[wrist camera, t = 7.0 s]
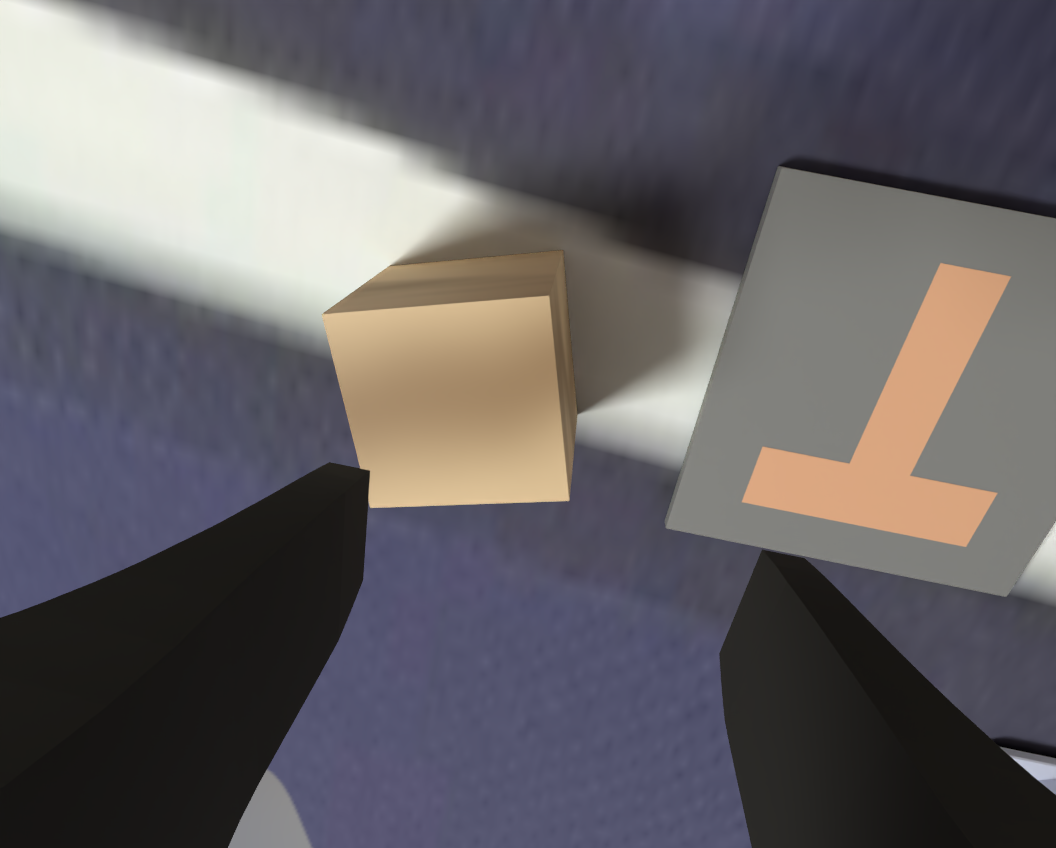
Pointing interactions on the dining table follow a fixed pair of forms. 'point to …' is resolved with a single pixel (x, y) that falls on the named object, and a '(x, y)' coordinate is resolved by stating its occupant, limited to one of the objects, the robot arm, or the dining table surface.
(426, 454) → the oak block
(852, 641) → the robot arm
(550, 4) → the dining table surface
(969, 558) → the letter tile
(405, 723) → the dining table surface
